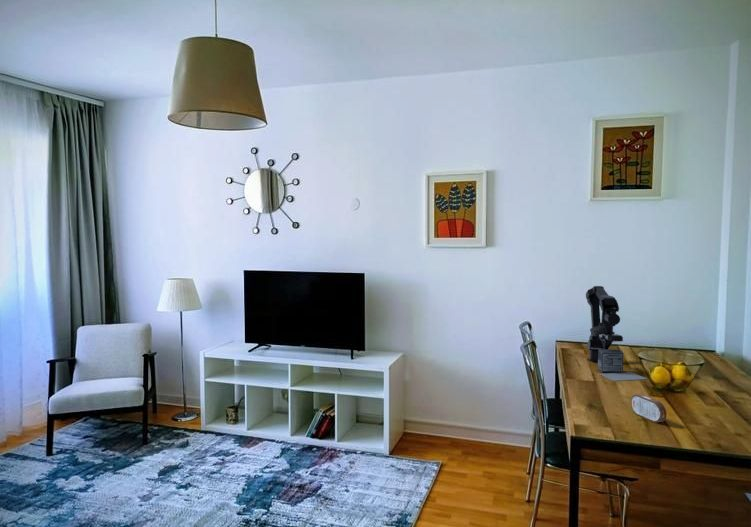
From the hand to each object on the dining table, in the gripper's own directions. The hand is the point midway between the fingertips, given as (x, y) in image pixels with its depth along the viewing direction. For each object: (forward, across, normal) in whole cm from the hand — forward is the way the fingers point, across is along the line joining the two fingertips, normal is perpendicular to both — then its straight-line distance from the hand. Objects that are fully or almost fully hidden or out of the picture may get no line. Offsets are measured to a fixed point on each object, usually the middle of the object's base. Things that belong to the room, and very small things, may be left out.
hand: (605, 351), depth 263 cm
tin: (+10, +66, -26) cm, 72 cm away
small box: (+9, +4, +1) cm, 10 cm away
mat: (+10, +14, +1) cm, 17 cm away
